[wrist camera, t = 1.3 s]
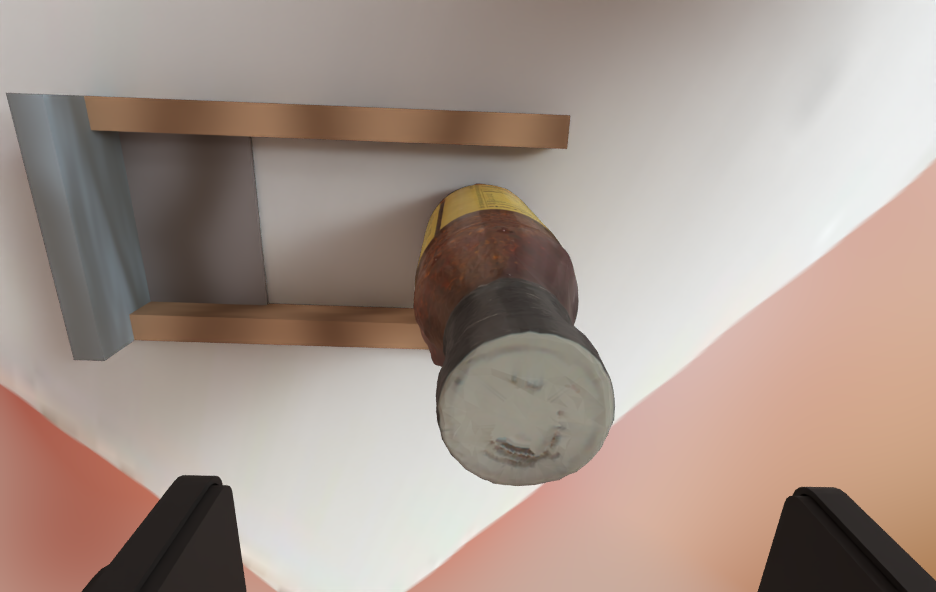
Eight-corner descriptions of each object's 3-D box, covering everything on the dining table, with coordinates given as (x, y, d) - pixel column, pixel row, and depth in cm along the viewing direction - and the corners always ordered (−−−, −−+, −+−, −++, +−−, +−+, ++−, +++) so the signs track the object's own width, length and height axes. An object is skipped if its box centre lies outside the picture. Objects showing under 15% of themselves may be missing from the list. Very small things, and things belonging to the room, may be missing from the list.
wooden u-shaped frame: (561, 115, 28) (581, 116, 23) (540, 336, 32) (553, 374, 27) (85, 95, 27) (5, 93, 22) (132, 322, 32) (74, 359, 27)
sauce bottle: (476, 303, 31) (492, 585, 13) (405, 228, 30) (306, 428, 11) (559, 233, 30) (714, 438, 11) (489, 151, 28) (537, 232, 10)
